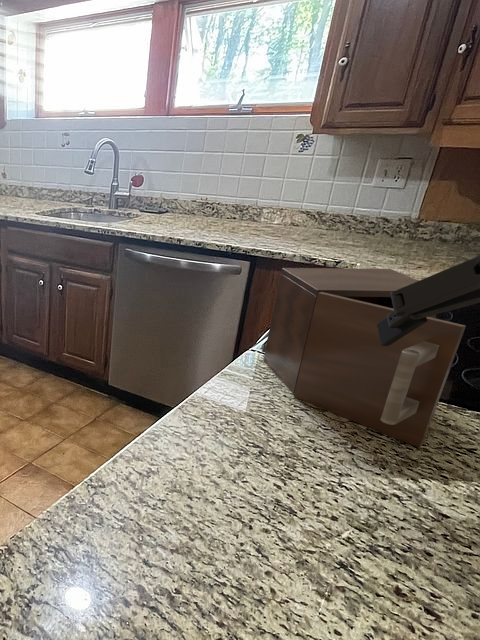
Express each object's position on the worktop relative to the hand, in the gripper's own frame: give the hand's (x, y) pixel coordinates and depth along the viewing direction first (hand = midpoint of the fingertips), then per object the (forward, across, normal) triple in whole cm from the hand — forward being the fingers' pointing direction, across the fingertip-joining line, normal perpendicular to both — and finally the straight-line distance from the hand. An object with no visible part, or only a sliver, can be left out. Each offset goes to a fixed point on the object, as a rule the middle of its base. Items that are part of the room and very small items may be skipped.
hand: (446, 336), depth 59 cm
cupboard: (+34, +5, +7) cm, 35 cm away
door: (+22, -1, -5) cm, 22 cm away
